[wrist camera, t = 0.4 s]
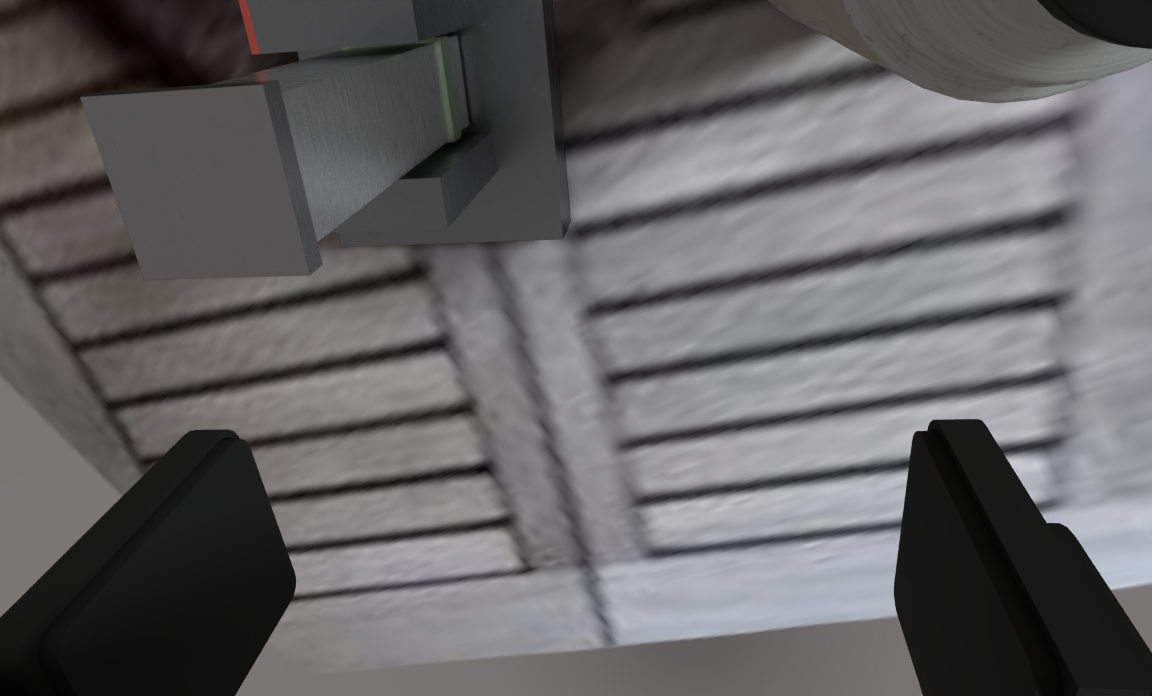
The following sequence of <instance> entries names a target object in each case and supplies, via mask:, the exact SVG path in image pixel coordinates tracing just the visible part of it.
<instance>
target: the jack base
mask: <svg viewBox="0 0 1152 696" xmlns="http://www.w3.org/2000/svg"><path fill="white" fill-rule="evenodd" d="M239 4H240V8H241V12H242V16H243V20H244V24H245V28H246V32H247V36H248V40H249V44H250V48H251V52H252V55H254V54H267V53H280V52H294V51H297V52H298V57H299V61H301V60H305V59H309V58H312V57H316V56H320V55H324V54H328V53H331V52H335V51H339V50H343V48H347V47H360V46H374V45H387V44H400V43H414V42H421V41H424V40H427V39H430V38H433V37H437V36H444V35H447V36H451V35H457V37H458V44H459V51H460V59H461V66H462V73H463V81H464V88H465V95H466V103H467V110H468V117H469V125H468V126H467V127H466V128H464V129H463V130H462V131H461V135H462V137H461V138H459V139H458V140H457V141H456V142H448V143H445V144H444V145H442V146H441V147H440V148H439V149H437V150H436V151H435V152H433V153H432V154H431V155H429V156H428V157H427V158H426V159H424V160H423V161H422V162H420V163H419V164H418V165H416V166H415V167H414V168H413V169H411V170H410V171H409V172H407V173H406V174H405V175H403V176H402V177H401V178H400V179H398V180H397V181H396V182H394V183H393V184H392V185H391V186H389V187H388V188H387V189H385V190H384V191H383V192H381V193H380V194H379V195H378V196H376V197H375V198H374V199H372V200H371V201H370V202H368V203H367V204H366V205H365V206H363V207H362V208H361V209H359V210H358V211H357V212H356V213H354V214H353V215H352V216H350V217H349V218H348V219H346V220H345V221H344V222H343V223H341V224H340V225H339V226H337V227H336V228H335V229H333V230H332V231H331V232H330V233H338V235H339V239H340V244H341V247H356V246H384V245H413V244H442V243H470V242H499V241H527V240H556V239H564V236H565V234H566V232H567V229H568V227H569V225H570V222H571V218H570V206H569V194H568V181H567V169H566V157H565V145H564V133H563V121H562V109H561V97H560V85H559V73H558V61H557V49H556V37H555V25H554V13H553V1H552V0H239Z"/></svg>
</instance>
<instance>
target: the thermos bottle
mask: <svg viewBox="0 0 1152 696" xmlns="http://www.w3.org/2000/svg"><path fill="white" fill-rule="evenodd" d="M768 1H769V2H770V3H771V4H772V5H773V6H774V7H775V8H776V9H777V10H778V11H780V12H781V13H783V14H785V15H786V16H788V17H790V18H792V19H793V20H795V21H797V22H799V23H801V24H804V25H806V26H807V27H809V28H811V29H813V30H814V31H816V32H818V33H820V34H822V35H826V36H828V37H829V38H831V39H833V40H834V41H836V42H838V43H840V44H841V45H843V46H845V47H847V48H848V49H850V50H852V51H854V52H856V53H858V54H860V55H862V56H863V57H865V58H867V59H869V60H871V61H873V62H875V63H877V64H878V65H880V66H882V67H884V68H886V69H888V70H890V71H892V72H894V73H895V74H897V75H899V76H901V77H903V78H905V79H907V80H909V81H910V82H912V83H914V84H916V85H918V86H920V87H922V88H924V89H928V90H931V91H934V92H937V93H940V94H943V95H946V96H950V97H953V98H956V99H959V100H969V101H979V102H989V103H1006V102H1016V101H1027V100H1037V99H1041V98H1045V97H1049V96H1052V95H1056V94H1059V93H1063V92H1067V91H1070V90H1074V89H1077V88H1081V87H1083V86H1085V85H1087V84H1089V83H1091V82H1094V81H1096V80H1098V79H1100V78H1102V77H1105V76H1108V75H1112V74H1116V73H1119V72H1123V71H1126V70H1130V69H1133V68H1135V67H1138V66H1140V65H1142V64H1144V63H1146V62H1149V61H1151V60H1152V0H768Z"/></svg>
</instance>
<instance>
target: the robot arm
mask: <svg viewBox="0 0 1152 696" xmlns="http://www.w3.org/2000/svg"><path fill="white" fill-rule="evenodd" d="M295 588H296V576H295V572H294V569H293V566H292V563H291V561H290V558H289V555H288V552H287V549H286V547H285V544H284V541H283V538H282V535H281V533H280V530H279V527H278V524H277V521H276V519H275V516H274V513H273V510H272V507H271V505H270V502H269V499H268V496H267V493H266V491H265V488H264V485H263V482H262V479H261V477H260V474H259V471H258V468H257V465H256V463H255V460H254V457H253V454H252V451H251V449H250V447H249V445H248V443H247V442H246V441H245V440H242V439H240V438H239V436H238V435H237V434H236V433H235V432H234V431H231V430H193V431H189V432H188V433H187V434H185V435H184V436H183V437H182V438H181V439H180V440H179V441H178V442H177V443H176V444H175V445H174V446H173V447H172V448H171V449H170V450H169V451H168V452H167V453H166V454H165V455H164V456H163V457H162V458H161V459H160V460H159V461H158V462H157V463H156V464H155V465H154V466H153V467H152V468H151V469H150V470H149V471H148V472H147V473H146V474H145V475H144V476H143V477H142V478H141V479H140V480H139V481H138V482H137V483H136V484H135V485H134V486H133V487H132V488H131V489H130V490H129V491H128V492H126V493H125V494H124V495H123V496H122V497H121V498H120V499H119V500H118V502H116V503H115V504H114V506H112V507H111V508H110V509H109V510H108V511H107V512H106V513H105V514H104V515H103V516H102V517H101V518H100V519H99V520H98V521H97V522H96V523H95V524H94V525H93V526H92V527H91V528H90V529H89V530H88V531H87V532H86V533H85V534H84V535H83V536H82V537H81V538H80V539H79V540H78V541H77V542H76V543H75V544H74V545H73V546H72V547H71V548H70V549H69V550H68V551H67V552H66V553H65V554H64V555H63V556H62V557H61V558H60V559H59V560H58V561H57V562H56V563H55V564H54V565H53V566H52V567H51V568H50V569H49V570H48V571H47V572H46V573H45V574H44V575H43V576H42V577H41V578H40V579H39V580H38V581H37V582H36V583H35V584H34V585H33V586H32V587H31V588H30V589H29V590H28V591H27V592H26V593H25V594H24V595H23V596H22V597H21V598H20V599H19V600H18V601H17V602H16V603H15V604H14V605H13V606H12V607H11V608H10V609H9V610H8V611H7V612H6V613H5V614H4V615H2V617H1V618H0V696H235V695H236V693H237V691H238V689H239V688H240V686H241V685H242V683H243V681H244V679H245V678H246V676H247V674H248V673H249V671H250V669H251V668H252V666H253V664H254V663H255V661H256V659H257V657H258V656H259V654H260V653H261V651H262V649H263V647H264V646H265V644H266V642H267V641H268V639H269V637H270V636H271V634H272V632H273V631H274V629H275V627H276V626H277V624H278V622H279V621H280V619H281V617H282V615H283V614H284V612H285V610H286V609H287V607H288V605H289V604H290V602H291V600H292V598H293V596H294V592H295ZM894 598H895V606H896V611H897V615H898V618H899V621H900V624H901V627H902V631H903V634H904V637H905V640H906V643H907V646H908V650H909V652H910V656H911V659H912V662H913V665H914V668H915V671H916V675H917V678H918V681H919V684H920V687H921V690H922V694H923V696H1152V653H1151V651H1150V649H1149V648H1148V647H1147V645H1146V643H1145V642H1144V641H1143V639H1142V637H1141V636H1140V634H1139V633H1138V631H1137V630H1136V628H1135V627H1134V625H1133V624H1132V622H1131V621H1130V619H1129V617H1128V616H1127V614H1126V613H1125V612H1124V610H1123V608H1122V607H1121V605H1120V604H1119V602H1118V601H1117V599H1116V598H1115V596H1114V595H1113V593H1112V592H1111V590H1110V589H1109V587H1108V586H1107V584H1106V582H1105V581H1104V579H1103V578H1102V576H1101V575H1100V573H1099V572H1098V570H1097V569H1096V567H1095V566H1094V564H1093V563H1092V561H1091V560H1090V558H1089V557H1088V555H1087V554H1086V552H1085V551H1084V549H1083V547H1082V546H1081V544H1080V543H1079V541H1078V540H1077V538H1076V537H1075V536H1074V534H1073V533H1072V532H1071V531H1070V530H1069V529H1068V527H1066V526H1064V525H1062V524H1060V523H1046V521H1045V520H1044V518H1043V516H1042V515H1041V513H1040V511H1039V510H1038V508H1037V507H1036V505H1035V503H1034V502H1033V500H1032V499H1031V497H1030V495H1029V494H1028V492H1027V491H1026V489H1025V487H1024V486H1023V484H1022V483H1021V481H1020V479H1019V478H1018V476H1017V475H1016V473H1015V471H1014V470H1013V468H1012V467H1011V465H1010V463H1009V462H1008V460H1007V459H1006V457H1005V455H1004V454H1003V452H1002V451H1001V449H1000V447H999V446H998V444H997V443H996V441H995V439H994V438H993V436H992V434H991V433H990V431H989V430H988V428H987V426H986V425H985V424H984V423H983V421H982V420H979V419H956V420H933V421H931V422H930V424H929V426H928V430H927V431H917V432H915V434H914V436H913V440H912V447H911V455H910V463H909V471H908V479H907V487H906V494H905V502H904V510H903V518H902V526H901V534H900V542H899V550H898V558H897V566H896V574H895V582H894Z"/></svg>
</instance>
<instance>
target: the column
mask: <svg viewBox="0 0 1152 696" xmlns="http://www.w3.org/2000/svg"><path fill="white" fill-rule="evenodd" d="M80 98H81V101H82V104H83V107H84V109H85V112H86V115H87V118H88V121H89V124H90V126H91V129H92V132H93V135H94V138H95V141H96V143H97V146H98V149H99V152H100V155H101V158H102V161H103V163H104V166H105V169H106V172H107V175H108V178H109V180H110V183H111V186H112V189H113V192H114V195H115V197H116V200H117V203H118V206H119V209H120V212H121V215H122V217H123V220H124V223H125V226H126V229H127V232H128V234H129V237H130V240H131V243H132V246H133V249H134V251H135V254H136V257H137V260H138V263H139V266H140V268H141V271H142V274H143V277H144V280H168V279H202V278H236V277H270V276H304V275H311V274H312V273H313V272H314V271H316V270H317V269H318V268H319V267H320V266H322V265H323V264H322V260H321V256H320V252H319V247H318V243H317V242H318V241H319V240H321V239H322V238H323V237H324V236H326V235H327V234H328V233H330V232H331V231H332V230H333V229H335V228H336V227H337V226H339V225H340V224H341V223H343V222H344V221H345V220H346V219H348V218H349V217H350V216H352V215H353V214H354V213H356V212H357V211H358V210H359V209H361V208H362V207H363V206H365V205H366V204H367V203H368V202H370V201H371V200H372V199H374V198H375V197H376V196H378V195H379V194H380V193H381V192H383V191H384V190H385V189H387V188H388V187H389V186H391V185H392V184H393V183H394V182H396V181H397V180H398V179H400V178H401V177H402V176H403V175H405V174H406V173H407V172H409V171H410V170H411V169H413V168H414V167H415V166H416V165H418V164H419V163H420V162H422V161H423V160H424V159H426V158H427V157H428V156H429V155H431V154H432V153H433V152H435V151H436V150H437V149H439V148H440V147H441V146H442V145H444V144H445V143H448V142H456V141H457V140H458V139H459V138H461V137H462V135H461V131H462V130H463V129H464V128H466V127H467V126H468V125H469V117H468V110H467V103H466V95H465V88H464V81H463V73H462V66H461V59H460V51H459V44H458V37H457V35H451V36H447V35H444V36H437V37H433V38H430V39H427V40H424V41H421V42H414V43H400V44H387V45H374V46H360V47H347V48H343V50H339V51H335V52H331V53H328V54H324V55H320V56H316V57H312V58H309V59H305V60H301V61H297V62H293V63H290V64H286V65H282V66H278V67H274V68H271V69H267V70H263V71H259V72H255V73H252V74H248V75H244V76H240V77H236V78H232V79H229V80H225V81H221V82H217V83H213V84H210V85H199V86H185V87H170V88H156V89H141V90H127V91H113V92H101V93H97V94H92V95H88V96H83V97H80Z"/></svg>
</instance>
